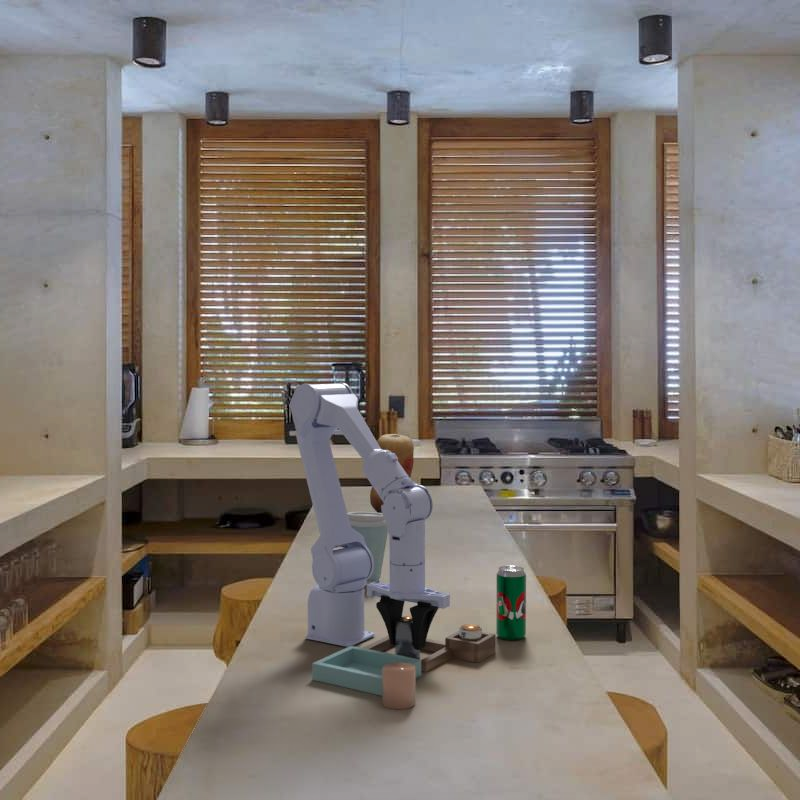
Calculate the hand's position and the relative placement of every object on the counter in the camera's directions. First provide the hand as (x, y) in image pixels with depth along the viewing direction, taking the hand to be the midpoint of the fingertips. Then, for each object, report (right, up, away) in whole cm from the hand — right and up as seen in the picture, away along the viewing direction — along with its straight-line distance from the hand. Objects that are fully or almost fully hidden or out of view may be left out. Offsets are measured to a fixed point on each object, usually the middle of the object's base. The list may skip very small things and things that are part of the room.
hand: (407, 645), depth 149 cm
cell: (0, -2, 0) cm, 2 cm away
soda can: (+18, -2, +11) cm, 21 cm away
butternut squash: (-3, +4, +132) cm, 132 cm away
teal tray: (-6, -2, -10) cm, 12 cm away
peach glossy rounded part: (-1, -3, -20) cm, 20 cm away
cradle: (0, -2, 0) cm, 2 cm away
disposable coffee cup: (-9, 0, +51) cm, 52 cm away
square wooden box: (+10, -2, +1) cm, 10 cm away
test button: (+10, 0, +1) cm, 10 cm away
